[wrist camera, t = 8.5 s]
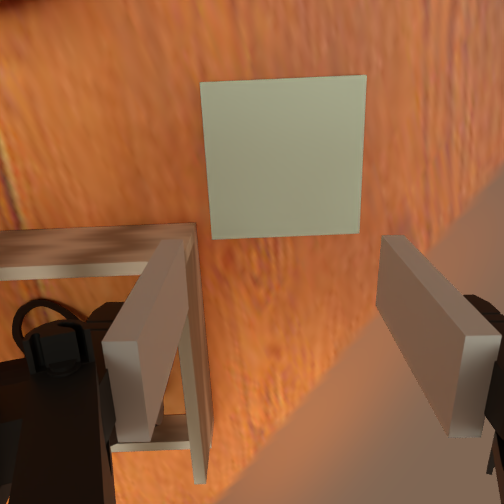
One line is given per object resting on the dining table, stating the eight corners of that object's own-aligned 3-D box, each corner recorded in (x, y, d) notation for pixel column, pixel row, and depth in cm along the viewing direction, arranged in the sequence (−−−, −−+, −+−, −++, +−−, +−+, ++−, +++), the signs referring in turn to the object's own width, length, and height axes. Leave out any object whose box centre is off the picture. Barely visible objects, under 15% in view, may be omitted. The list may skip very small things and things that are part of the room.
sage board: (213, 232, 32) (212, 239, 30) (202, 82, 28) (199, 82, 27) (354, 226, 32) (359, 233, 30) (360, 74, 28) (366, 74, 27)
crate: (-63, 431, 38) (-128, 505, 31) (-137, 236, 32) (-237, 277, 25) (213, 421, 38) (206, 492, 31) (195, 222, 31) (182, 260, 25)
